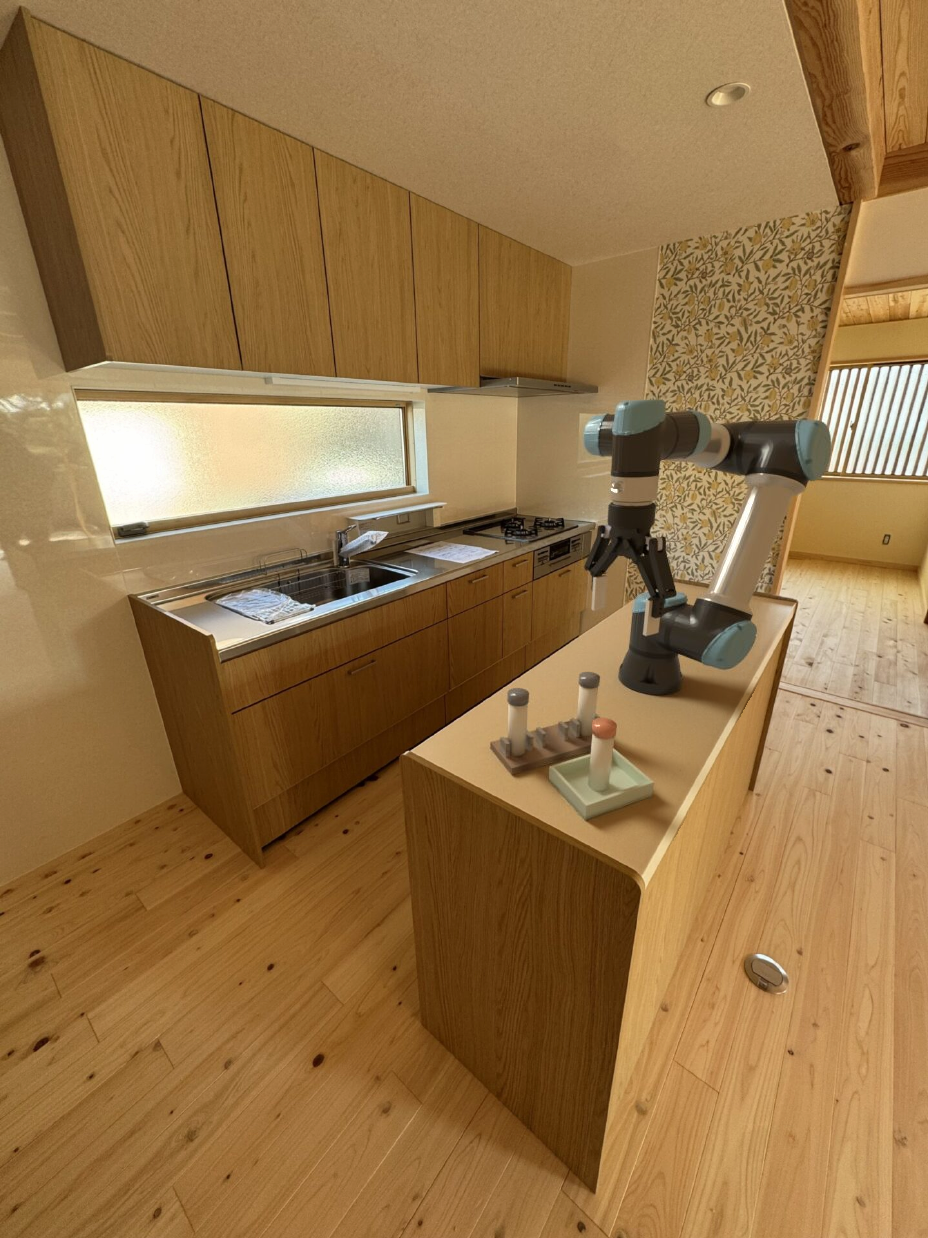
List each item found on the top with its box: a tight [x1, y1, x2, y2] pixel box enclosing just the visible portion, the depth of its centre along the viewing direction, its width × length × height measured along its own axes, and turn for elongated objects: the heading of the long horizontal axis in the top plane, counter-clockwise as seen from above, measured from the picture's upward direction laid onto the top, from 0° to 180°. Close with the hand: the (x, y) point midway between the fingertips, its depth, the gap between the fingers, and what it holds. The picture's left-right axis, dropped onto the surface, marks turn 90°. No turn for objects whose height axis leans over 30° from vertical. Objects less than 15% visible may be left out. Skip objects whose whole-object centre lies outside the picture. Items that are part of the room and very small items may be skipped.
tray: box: [548, 747, 655, 821], centre depth 88 cm, size 14×11×3 cm
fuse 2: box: [576, 671, 601, 736], centre depth 100 cm, size 4×4×13 cm
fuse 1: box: [506, 687, 530, 756], centre depth 94 cm, size 4×4×13 cm
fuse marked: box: [588, 717, 618, 792], centre depth 86 cm, size 4×4×13 cm
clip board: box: [489, 713, 602, 776], centre depth 99 cm, size 23×9×4 cm, turn 113°
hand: (622, 620), depth 90 cm, fingers open, 13 cm apart
